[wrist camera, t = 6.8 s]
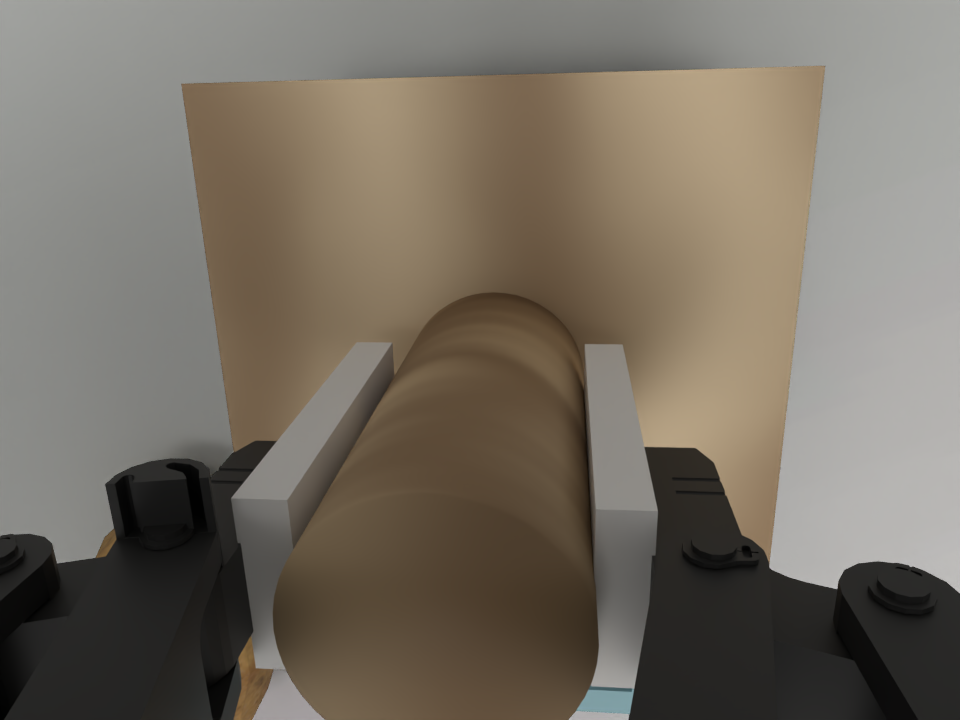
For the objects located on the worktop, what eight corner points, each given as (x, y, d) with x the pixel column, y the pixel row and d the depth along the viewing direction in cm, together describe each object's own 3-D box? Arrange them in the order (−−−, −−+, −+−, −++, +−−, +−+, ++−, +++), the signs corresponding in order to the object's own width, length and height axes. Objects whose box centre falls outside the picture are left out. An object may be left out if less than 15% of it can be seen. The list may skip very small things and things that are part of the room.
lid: (268, 581, 22) (44, 959, 12) (202, 83, 17) (-221, 85, 8) (753, 601, 20) (912, 1044, 11) (809, 66, 16) (1150, 45, 7)
